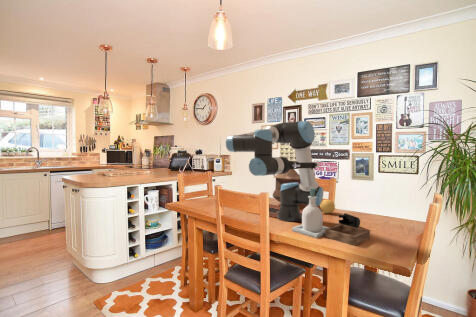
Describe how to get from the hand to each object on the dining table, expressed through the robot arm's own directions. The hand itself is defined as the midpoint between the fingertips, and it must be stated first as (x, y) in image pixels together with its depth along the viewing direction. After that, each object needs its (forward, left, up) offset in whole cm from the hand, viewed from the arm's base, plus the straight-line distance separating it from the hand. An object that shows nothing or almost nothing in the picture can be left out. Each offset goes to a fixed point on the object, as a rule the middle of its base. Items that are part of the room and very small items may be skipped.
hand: (306, 163), depth 127 cm
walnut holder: (+14, +15, -37) cm, 42 cm away
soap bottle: (-3, +10, -37) cm, 38 cm away
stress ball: (-20, +54, -37) cm, 69 cm away
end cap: (+5, +35, -38) cm, 52 cm away
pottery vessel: (-55, +54, -37) cm, 85 cm away
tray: (-3, +10, -37) cm, 39 cm away
